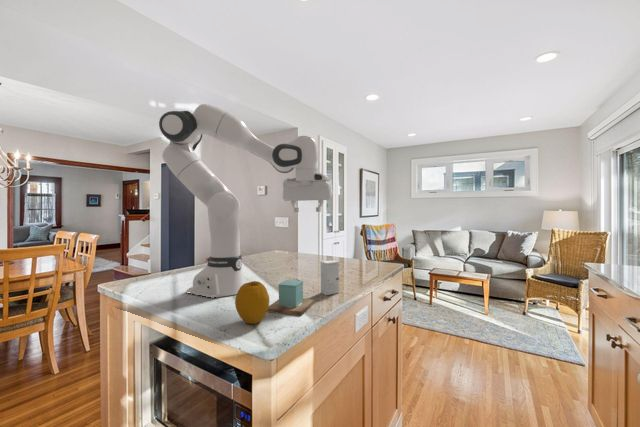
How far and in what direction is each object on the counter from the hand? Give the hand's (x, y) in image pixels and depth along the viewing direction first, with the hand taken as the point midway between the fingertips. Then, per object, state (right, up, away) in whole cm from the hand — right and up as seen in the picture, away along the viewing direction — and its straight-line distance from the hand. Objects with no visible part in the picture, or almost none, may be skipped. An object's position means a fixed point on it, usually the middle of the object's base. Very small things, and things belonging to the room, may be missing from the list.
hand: (307, 211), depth 116 cm
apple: (-14, -32, -33) cm, 48 cm away
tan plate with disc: (-4, -32, -21) cm, 38 cm away
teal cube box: (-4, -30, -21) cm, 37 cm away
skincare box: (+9, -31, -5) cm, 33 cm away
